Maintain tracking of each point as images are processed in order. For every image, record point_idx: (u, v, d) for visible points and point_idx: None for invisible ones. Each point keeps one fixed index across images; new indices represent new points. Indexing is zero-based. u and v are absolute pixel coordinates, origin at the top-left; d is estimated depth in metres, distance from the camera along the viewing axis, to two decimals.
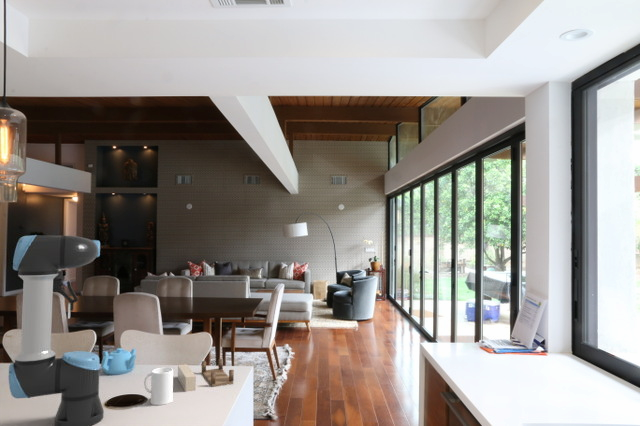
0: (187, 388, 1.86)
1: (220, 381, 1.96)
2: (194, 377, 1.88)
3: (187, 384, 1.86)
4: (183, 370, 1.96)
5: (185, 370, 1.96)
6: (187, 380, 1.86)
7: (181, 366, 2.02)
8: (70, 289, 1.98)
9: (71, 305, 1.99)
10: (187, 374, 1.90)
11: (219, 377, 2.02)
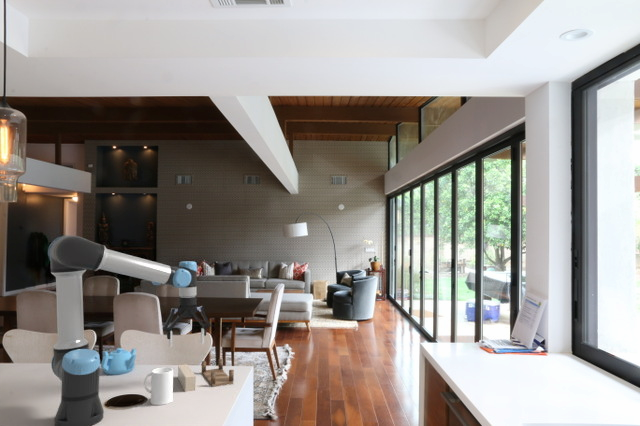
0: (187, 388, 1.86)
1: (220, 381, 1.96)
2: (194, 377, 1.87)
3: (187, 384, 1.86)
4: (183, 370, 1.96)
5: (185, 370, 1.96)
6: (187, 380, 1.86)
7: (181, 366, 2.02)
8: (204, 314, 1.99)
9: (204, 330, 2.00)
10: (186, 374, 1.90)
11: (219, 377, 2.02)
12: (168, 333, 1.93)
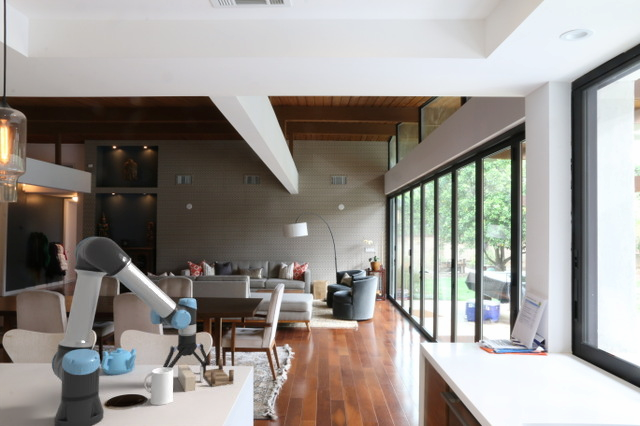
0: (187, 388, 1.86)
1: (220, 381, 1.96)
2: (194, 377, 1.87)
3: (187, 384, 1.86)
4: (183, 370, 1.96)
5: (185, 370, 1.96)
6: (187, 380, 1.86)
7: (181, 366, 2.02)
8: (203, 352, 1.98)
9: (203, 368, 1.98)
10: (186, 374, 1.90)
11: (219, 377, 2.02)
12: None
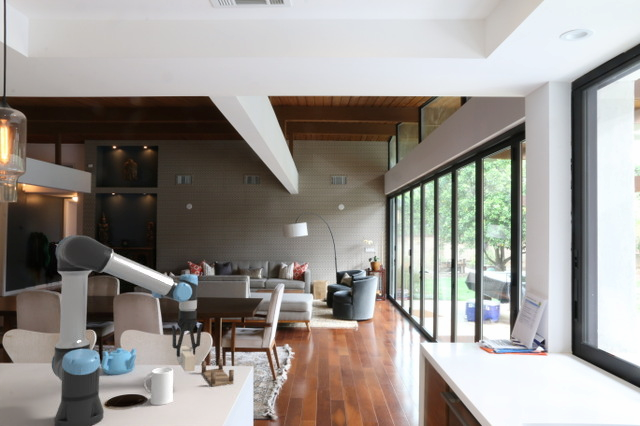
0: (186, 367, 1.86)
1: (220, 381, 1.96)
2: (193, 357, 1.88)
3: (186, 363, 1.86)
4: (183, 350, 1.96)
5: (185, 351, 1.96)
6: (186, 359, 1.86)
7: (181, 347, 2.02)
8: (199, 332, 1.98)
9: (193, 350, 1.97)
10: (186, 354, 1.90)
11: (219, 377, 2.02)
12: (178, 351, 1.94)
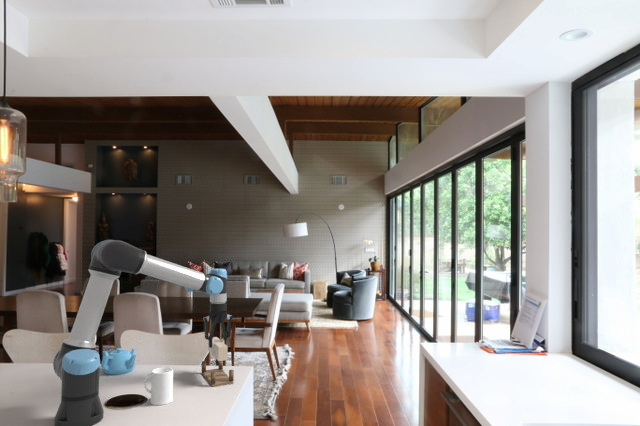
0: (220, 357, 1.95)
1: (220, 381, 1.96)
2: (226, 347, 1.96)
3: (220, 353, 1.95)
4: (214, 341, 2.04)
5: (216, 341, 2.04)
6: (219, 350, 1.95)
7: None
8: (229, 324, 2.06)
9: (224, 341, 2.05)
10: (219, 345, 1.98)
11: (219, 377, 2.02)
12: (210, 342, 2.02)
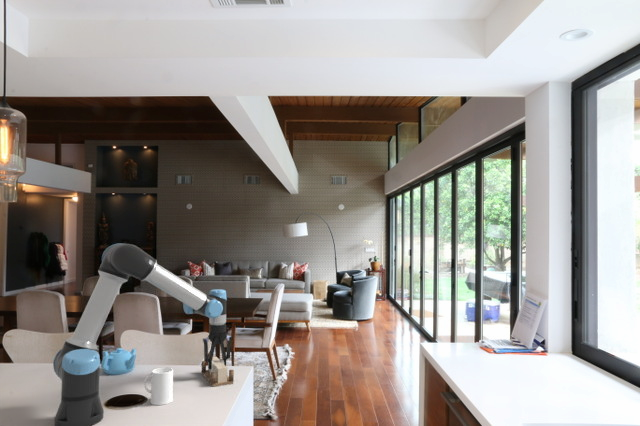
0: (219, 379, 1.94)
1: None
2: (226, 368, 1.96)
3: (219, 375, 1.94)
4: (214, 362, 2.04)
5: (216, 362, 2.04)
6: (219, 371, 1.94)
7: None
8: (229, 345, 2.06)
9: (224, 362, 2.05)
10: (218, 366, 1.98)
11: None
12: (209, 363, 2.02)
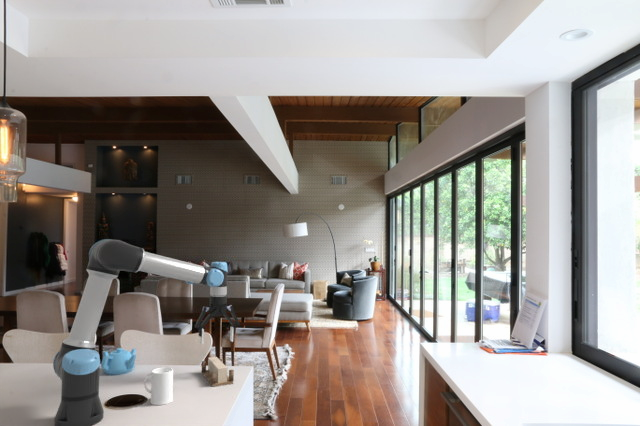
0: (219, 379, 1.94)
1: None
2: (226, 368, 1.96)
3: (219, 375, 1.94)
4: (214, 362, 2.04)
5: (216, 362, 2.04)
6: (219, 371, 1.94)
7: (211, 358, 2.10)
8: (233, 313, 2.07)
9: (234, 329, 2.07)
10: (218, 366, 1.98)
11: None
12: (200, 331, 2.00)
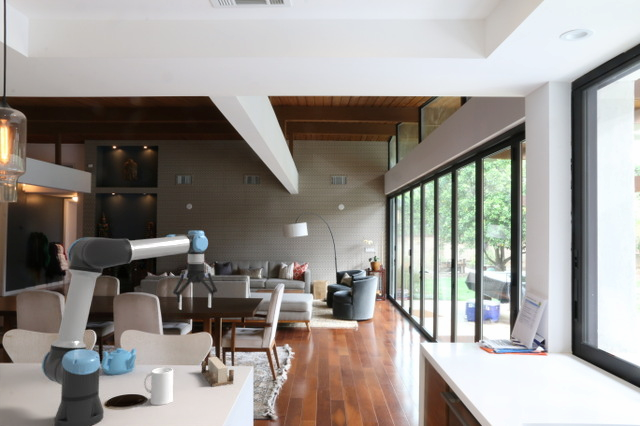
0: (219, 379, 1.94)
1: None
2: (226, 368, 1.96)
3: (219, 375, 1.94)
4: (214, 362, 2.04)
5: (216, 362, 2.04)
6: (219, 371, 1.94)
7: (211, 358, 2.10)
8: (211, 280, 2.13)
9: (211, 295, 2.13)
10: (218, 366, 1.98)
11: None
12: (178, 296, 2.06)
